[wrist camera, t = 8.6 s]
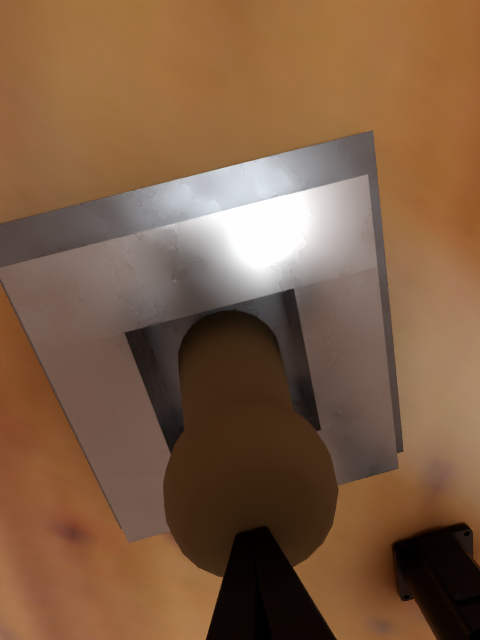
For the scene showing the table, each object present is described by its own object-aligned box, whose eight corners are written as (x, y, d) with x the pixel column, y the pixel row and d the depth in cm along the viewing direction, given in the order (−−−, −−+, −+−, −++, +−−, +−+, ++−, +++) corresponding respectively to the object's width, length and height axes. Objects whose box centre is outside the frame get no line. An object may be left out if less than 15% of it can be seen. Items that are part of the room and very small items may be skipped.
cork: (249, 419, 20) (296, 638, 9) (160, 381, 18) (97, 588, 8) (299, 338, 19) (418, 487, 8) (207, 291, 17) (206, 397, 7)
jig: (395, 441, 23) (433, 485, 19) (124, 515, 22) (107, 576, 19) (363, 135, 17) (409, 109, 13) (-12, 229, 16) (-79, 231, 12)
